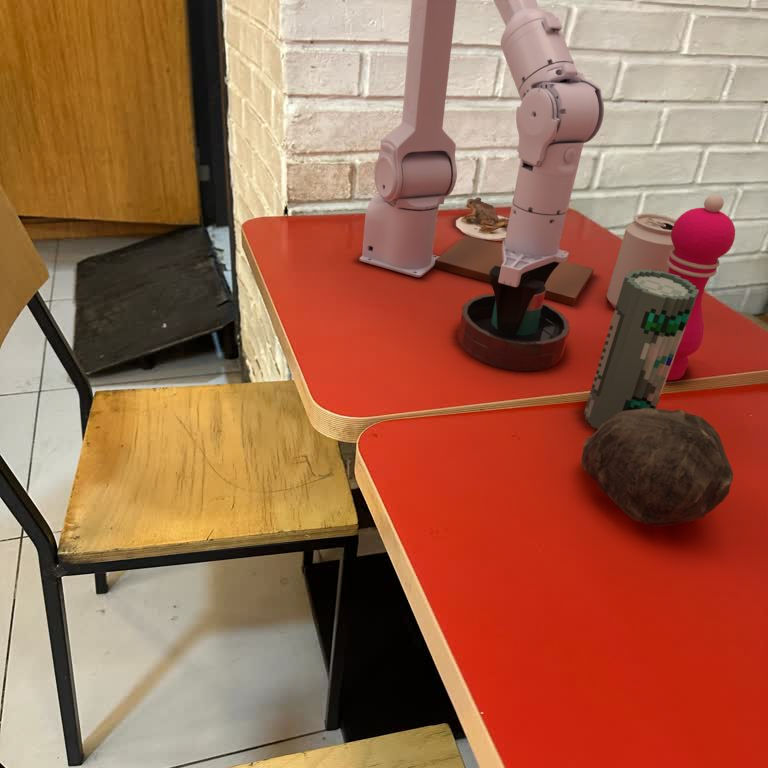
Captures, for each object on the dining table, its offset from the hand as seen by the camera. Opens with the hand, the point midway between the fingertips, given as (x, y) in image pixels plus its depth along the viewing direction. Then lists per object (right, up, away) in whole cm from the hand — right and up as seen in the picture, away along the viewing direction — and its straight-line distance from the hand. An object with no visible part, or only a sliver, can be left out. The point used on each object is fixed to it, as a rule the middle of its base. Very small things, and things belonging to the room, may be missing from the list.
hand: (514, 321), depth 79 cm
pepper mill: (+16, -5, 0) cm, 17 cm away
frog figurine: (+2, +18, +35) cm, 39 cm away
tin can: (0, -2, +1) cm, 2 cm away
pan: (0, -2, +2) cm, 3 cm away
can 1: (+18, +3, +14) cm, 23 cm away
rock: (+7, -17, -20) cm, 27 cm away
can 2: (+8, -11, -10) cm, 17 cm away
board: (+4, +9, +20) cm, 22 cm away
